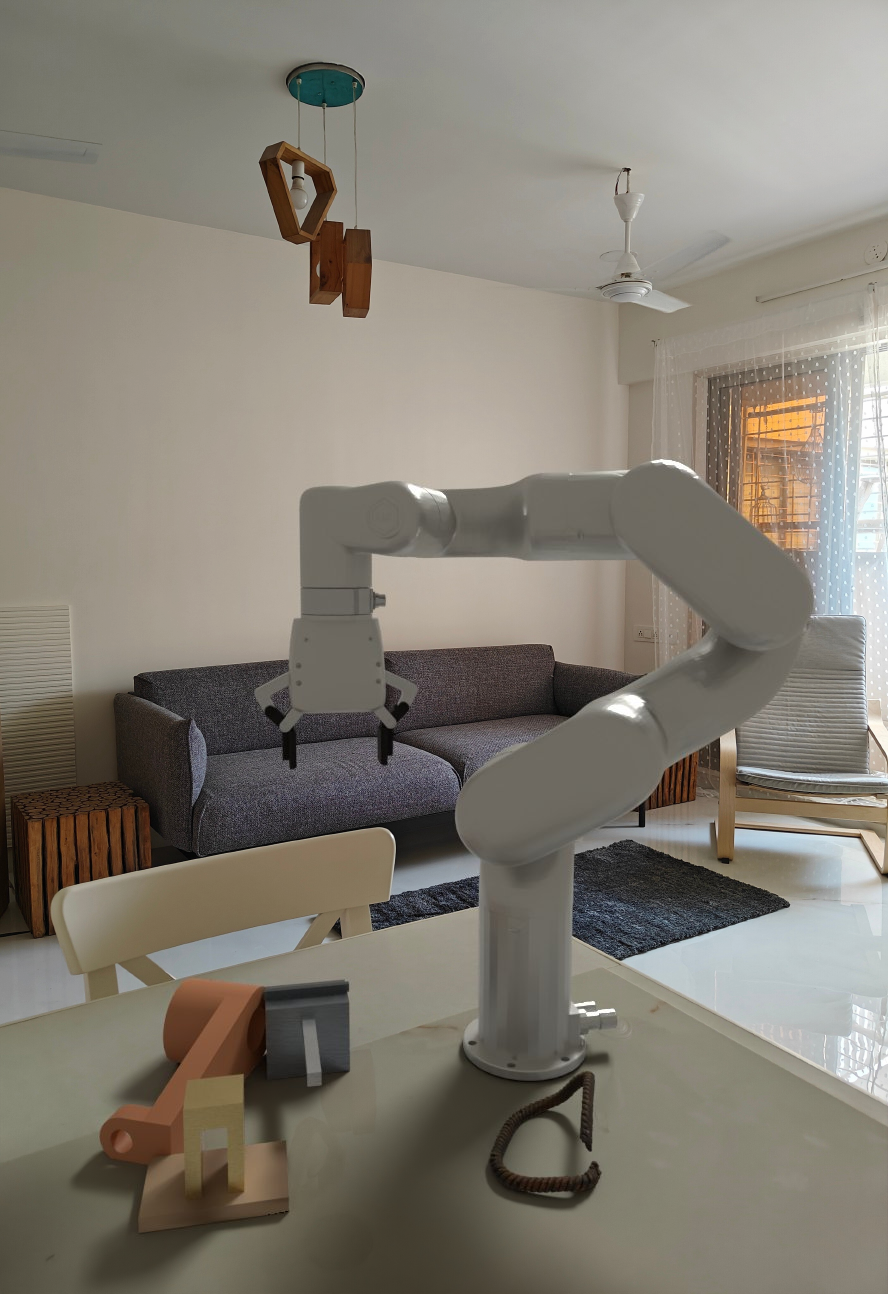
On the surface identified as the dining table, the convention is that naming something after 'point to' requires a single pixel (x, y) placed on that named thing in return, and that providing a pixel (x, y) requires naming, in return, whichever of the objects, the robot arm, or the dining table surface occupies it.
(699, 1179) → the dining table surface
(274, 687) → the robot arm
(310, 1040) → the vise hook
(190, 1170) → the yellow arch block
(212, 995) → the crank
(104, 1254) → the dining table surface
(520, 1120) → the brown twisted loop
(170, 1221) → the board
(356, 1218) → the dining table surface
